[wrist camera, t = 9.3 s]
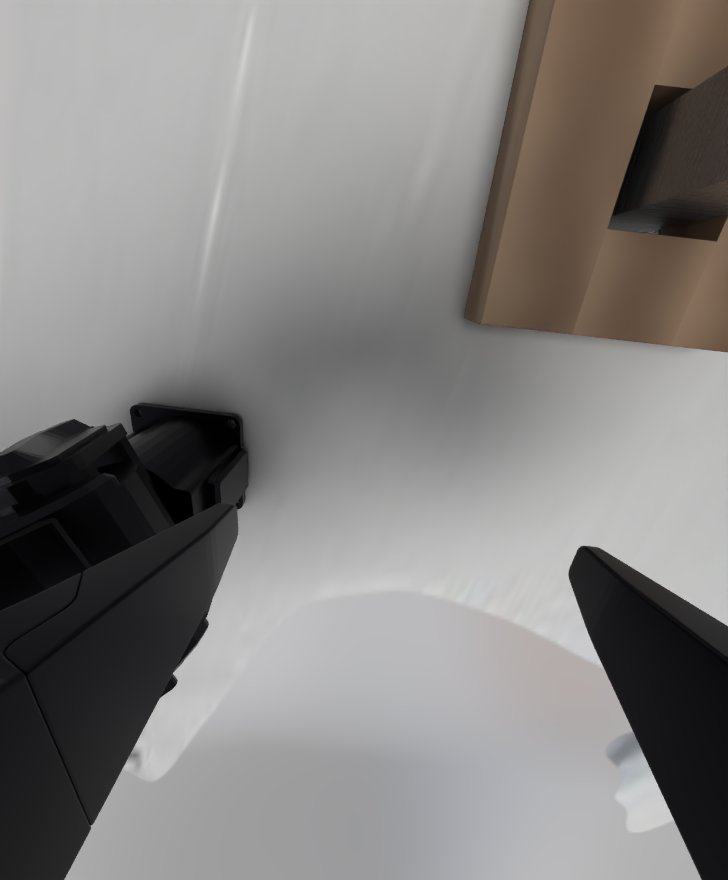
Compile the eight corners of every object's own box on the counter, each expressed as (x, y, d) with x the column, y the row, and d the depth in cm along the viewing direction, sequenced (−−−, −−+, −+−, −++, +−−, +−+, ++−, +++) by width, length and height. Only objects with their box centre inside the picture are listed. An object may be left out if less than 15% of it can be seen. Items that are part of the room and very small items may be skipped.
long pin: (580, 226, 16) (829, 147, 7) (603, 146, 15) (936, -70, 6) (644, 232, 16) (977, 161, 7) (673, 153, 15) (1115, -54, 6)
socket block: (463, 317, 18) (481, 323, 15) (532, -13, 13) (579, -108, 10) (694, 344, 18) (762, 356, 15) (846, 22, 13) (993, -62, 10)
